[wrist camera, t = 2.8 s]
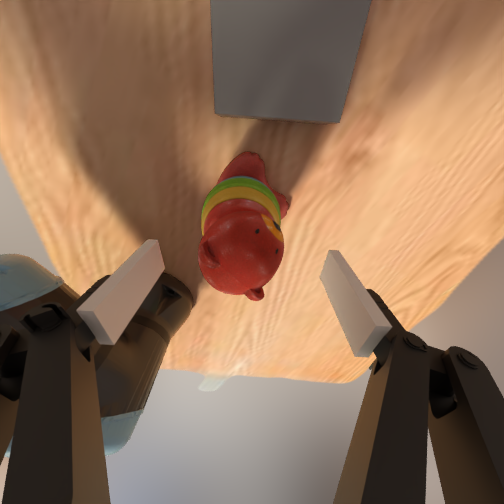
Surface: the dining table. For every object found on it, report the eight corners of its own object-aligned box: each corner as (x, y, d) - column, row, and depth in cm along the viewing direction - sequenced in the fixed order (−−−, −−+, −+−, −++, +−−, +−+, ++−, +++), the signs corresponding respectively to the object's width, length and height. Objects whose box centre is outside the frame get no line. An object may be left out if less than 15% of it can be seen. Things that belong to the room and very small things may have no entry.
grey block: (220, 116, 22) (214, 113, 19) (214, -102, 15) (203, -172, 11) (326, 124, 23) (339, 122, 19) (375, -85, 15) (410, -148, 12)
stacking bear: (292, 209, 29) (336, 293, 14) (240, 242, 32) (230, 339, 17) (252, 143, 24) (252, 161, 9) (196, 189, 27) (126, 260, 12)
